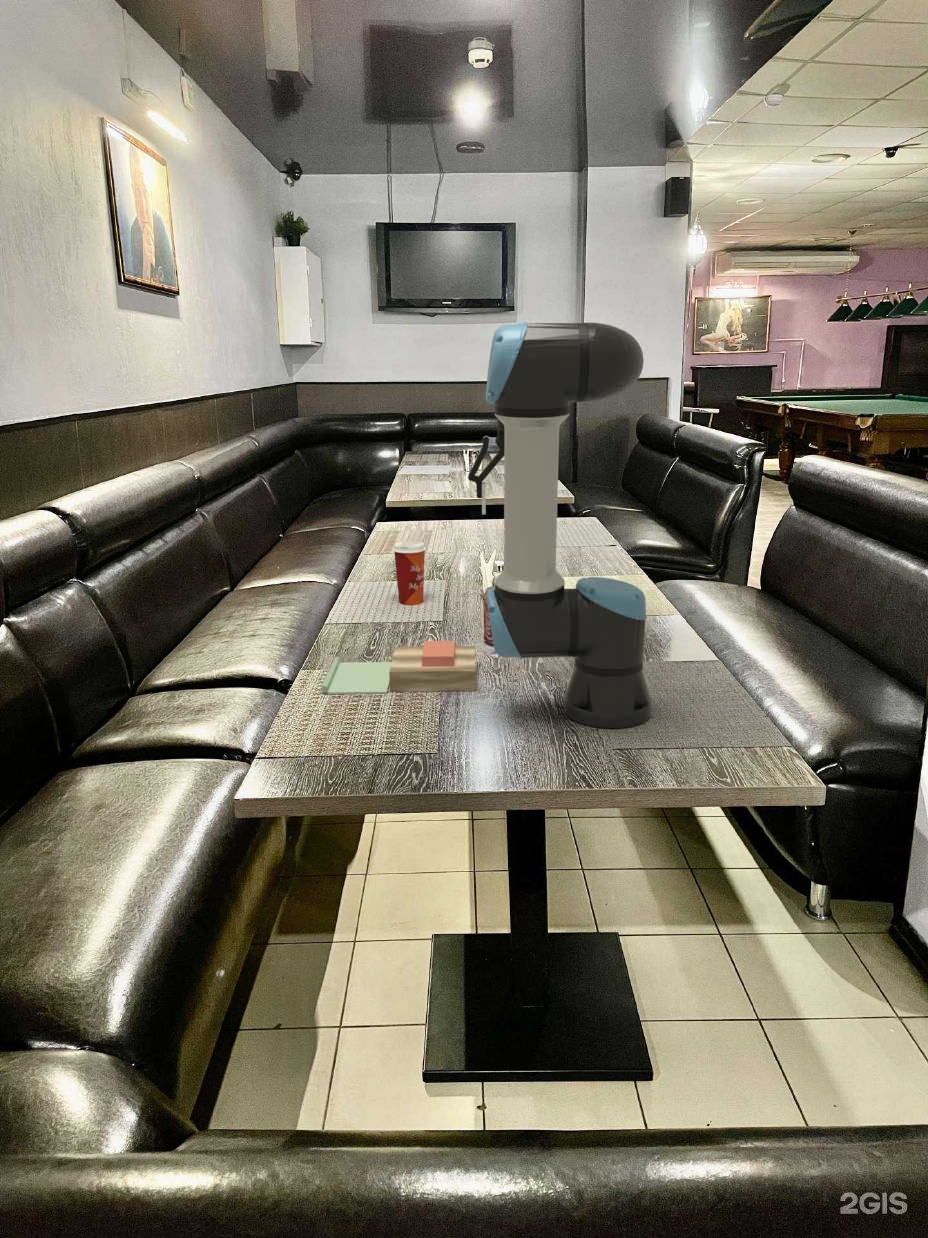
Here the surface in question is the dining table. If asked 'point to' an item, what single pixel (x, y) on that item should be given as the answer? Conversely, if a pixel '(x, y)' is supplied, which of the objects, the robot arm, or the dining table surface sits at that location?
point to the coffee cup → (410, 571)
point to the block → (438, 653)
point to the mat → (357, 678)
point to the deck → (432, 671)
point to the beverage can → (487, 618)
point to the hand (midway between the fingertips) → (515, 513)
